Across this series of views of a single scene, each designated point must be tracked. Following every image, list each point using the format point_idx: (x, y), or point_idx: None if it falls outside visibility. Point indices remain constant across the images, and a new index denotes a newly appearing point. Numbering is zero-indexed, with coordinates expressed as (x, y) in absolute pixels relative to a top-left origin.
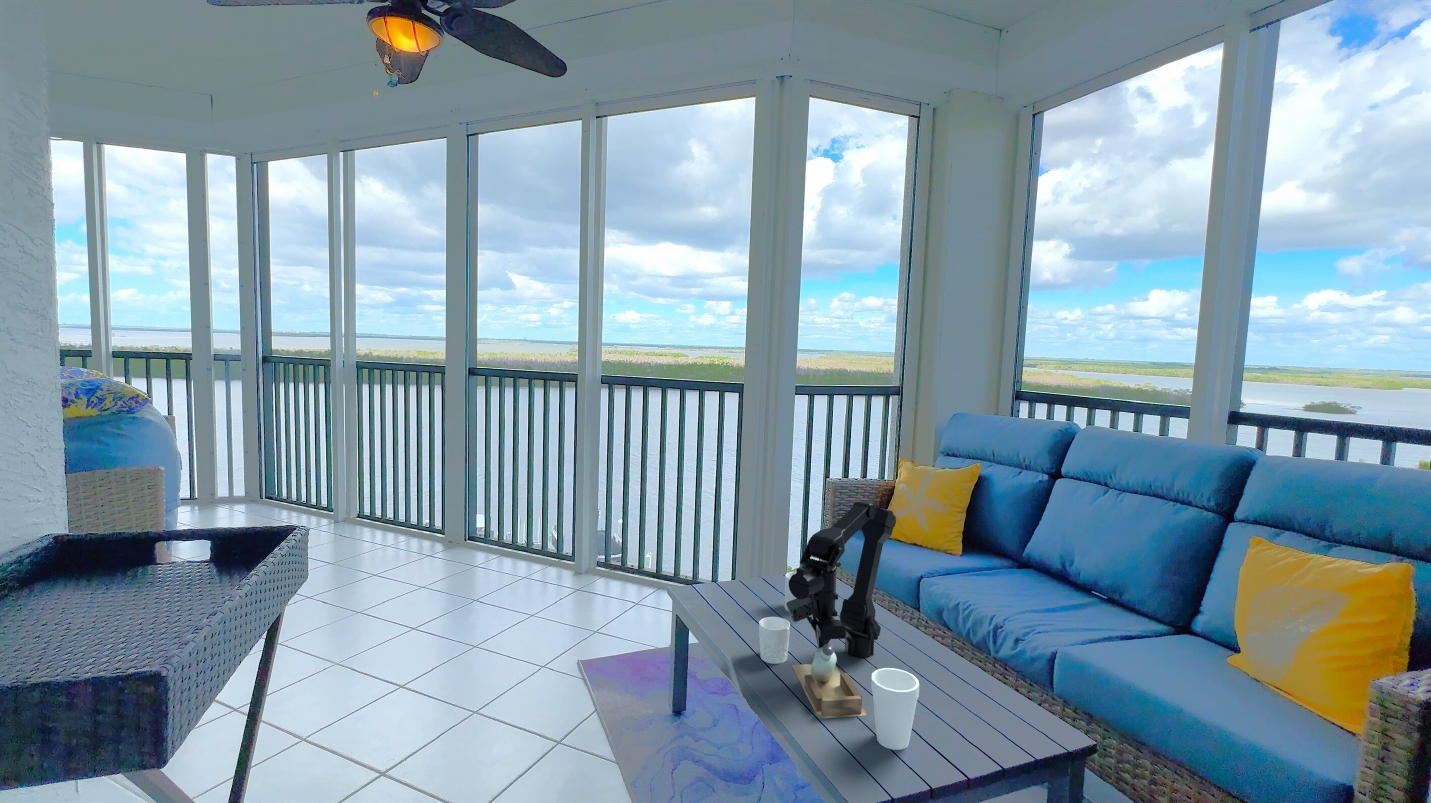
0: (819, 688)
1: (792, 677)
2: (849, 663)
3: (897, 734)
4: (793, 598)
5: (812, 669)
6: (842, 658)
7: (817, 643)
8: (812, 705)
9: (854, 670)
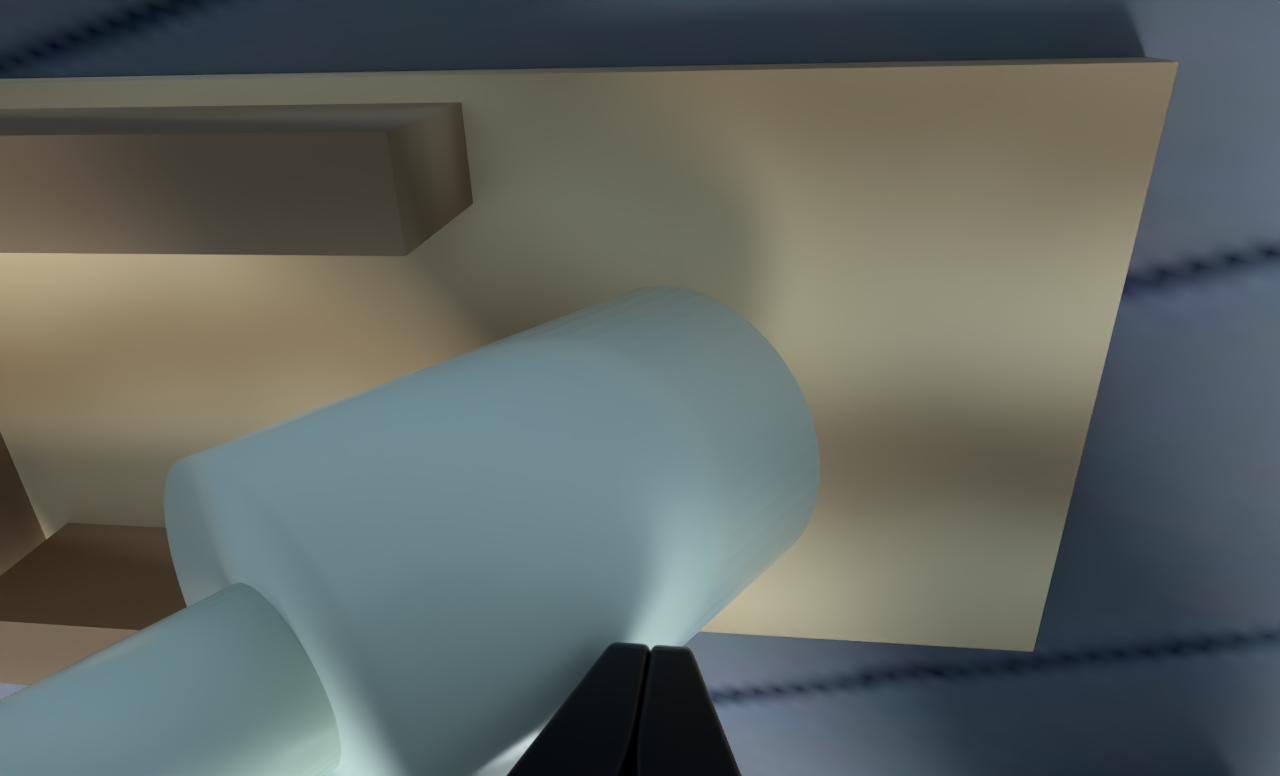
0: (436, 303)
1: (877, 9)
2: (1036, 768)
3: None
4: None
5: (580, 324)
6: (1170, 749)
7: (672, 759)
8: (21, 92)
9: (881, 757)
